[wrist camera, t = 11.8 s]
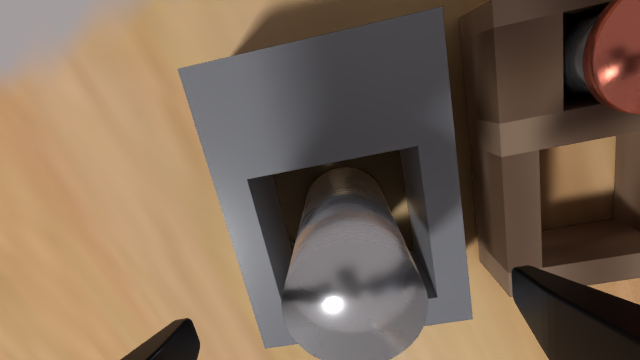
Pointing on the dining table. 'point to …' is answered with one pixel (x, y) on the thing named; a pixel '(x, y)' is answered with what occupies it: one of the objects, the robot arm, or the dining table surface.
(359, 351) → the peg
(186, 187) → the dining table surface
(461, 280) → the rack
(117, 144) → the dining table surface
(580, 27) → the pin
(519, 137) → the socket block
